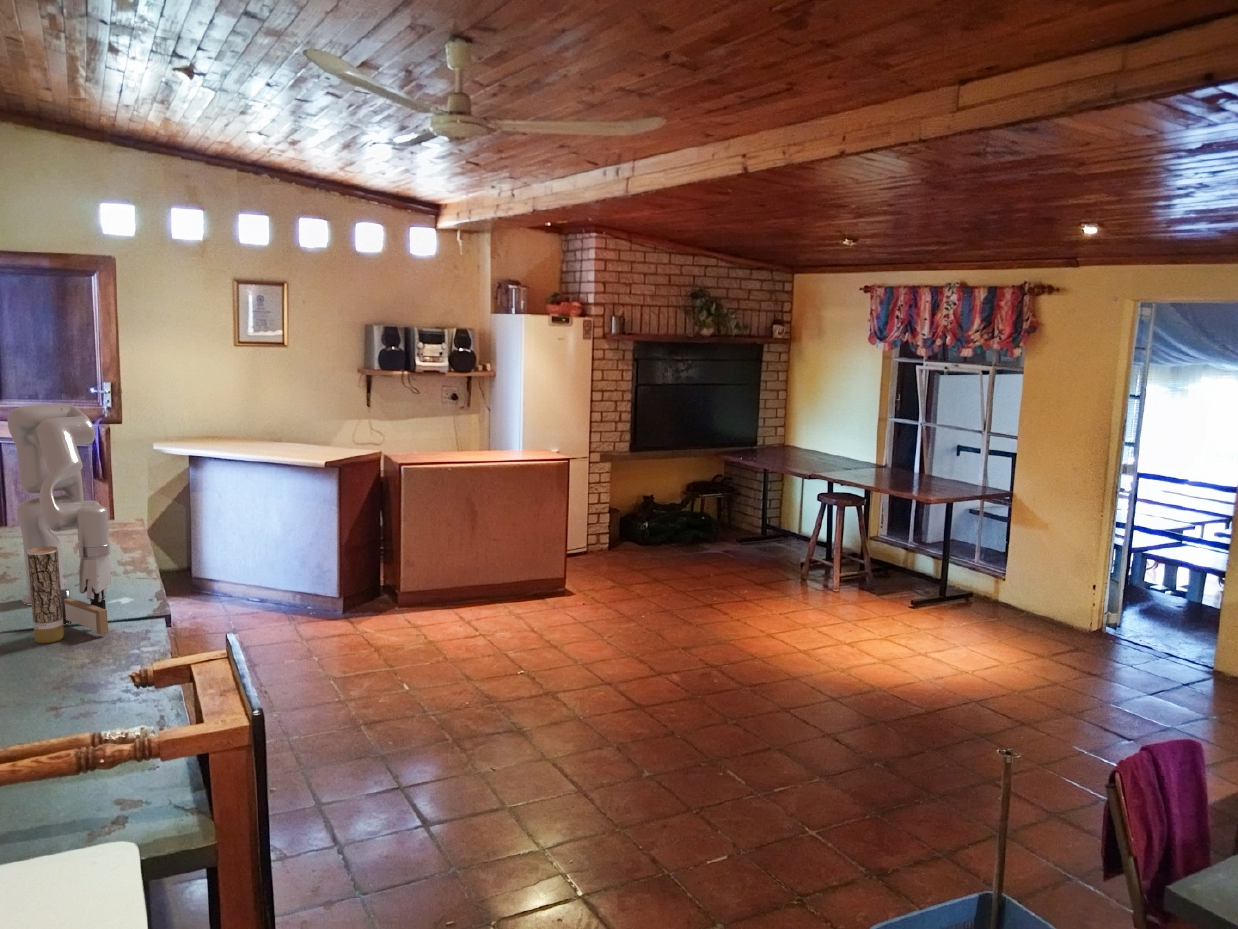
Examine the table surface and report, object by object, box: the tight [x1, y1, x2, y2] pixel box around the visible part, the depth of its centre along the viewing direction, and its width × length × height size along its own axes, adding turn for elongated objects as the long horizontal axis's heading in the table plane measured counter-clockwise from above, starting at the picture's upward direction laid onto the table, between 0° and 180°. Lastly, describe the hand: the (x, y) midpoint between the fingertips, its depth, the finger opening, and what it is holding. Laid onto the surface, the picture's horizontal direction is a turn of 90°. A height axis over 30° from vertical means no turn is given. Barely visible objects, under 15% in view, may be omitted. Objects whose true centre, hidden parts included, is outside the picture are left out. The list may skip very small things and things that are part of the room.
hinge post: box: [61, 588, 71, 625], centre depth 262 cm, size 3×3×10 cm
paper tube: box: [28, 547, 65, 644], centre depth 247 cm, size 7×7×25 cm
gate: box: [64, 597, 109, 636], centre depth 256 cm, size 2×18×6 cm, turn 58°
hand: (98, 614), depth 259 cm, fingers closed
